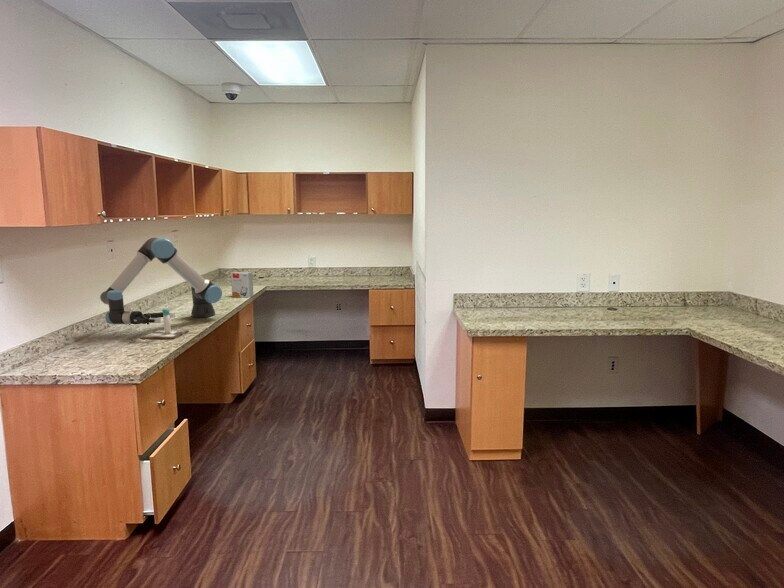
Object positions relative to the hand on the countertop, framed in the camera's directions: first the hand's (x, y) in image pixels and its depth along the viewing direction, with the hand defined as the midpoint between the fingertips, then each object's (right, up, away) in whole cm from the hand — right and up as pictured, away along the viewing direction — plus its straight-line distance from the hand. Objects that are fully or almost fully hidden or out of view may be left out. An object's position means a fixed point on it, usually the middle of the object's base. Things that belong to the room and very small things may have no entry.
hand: (167, 317), depth 284 cm
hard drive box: (+6, +11, +122) cm, 123 cm away
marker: (-1, -9, +2) cm, 9 cm away
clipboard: (-3, -10, +2) cm, 11 cm away
